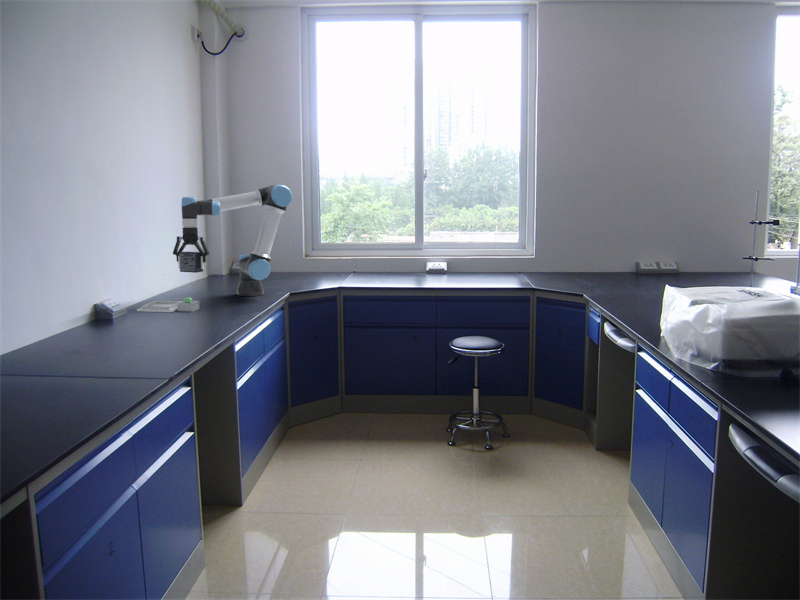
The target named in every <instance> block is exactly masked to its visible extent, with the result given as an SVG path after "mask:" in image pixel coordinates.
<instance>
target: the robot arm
mask: <svg viewBox="0 0 800 600" xmlns="http://www.w3.org/2000/svg"><path fill="white" fill-rule="evenodd" d="M197 199H198V198H197V197H196V196H183V197H181V205H180V206H181V226H182V236H176V241H175V245H174V247H173V251H172V254H173V255H174V256H176V262H177V263H178V269H180V256H179V252H184V250H185V248H186V246H187V245H191V246H193V245H194V247H195V248H196V249H197V252H200V253H201V255H202V256H201V269H203V270H204V269H205V263H206V262H207V259H206V258H207V256H209V255H210V252H209V249H208V247H207V244H206V242H205V236H199V234H198V233H199V231H198V230H199V229H198V227H197V226H198V216H220V215H221V212H225V211H230V210H237V209H241V208H248V207H253V206H259V207H264V206H265V208H266V211H265V214H264V218H263V220H262V224H261V228H260V231H259V234H258V237H257V240H256V244H255V247H254V250H253V251H251V252H250V254H241V255H239V260H238V262H239V263H238V265H239V266H238V267H239V282H238V286H237V290H236V295H237V296H240V297H258V296H263V295H264V294H265V290H264V286H263V283H262V281H263V280H265V279H266V278H267V277H268V276H269V275H270V273H271V268H272V267H271V261H272V258H271V256H270V254H271V251H272V249H273V243H274V241H275V239H276V236H277V235H276V234H277V231H278V229H279V225H280V221H281V218H282V215H283V214H284V213H286V211H287V208H288V206H290V205H291V202H292V200H293V193H292V191H291V189H290V188H289V187H287V186H286V185H282V184H270V185H267V186H265V187H262V188H256V189H255V190H254V191H250V192H244V193H238V194H233V195H227V196H222V197H221V196H220V197H215V198H211V199H205V200H204V199H203V200H197ZM182 241H183V243H181V242H182ZM198 241H199V242H200V243H199V242H198ZM180 244H181V246H180Z"/></svg>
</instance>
